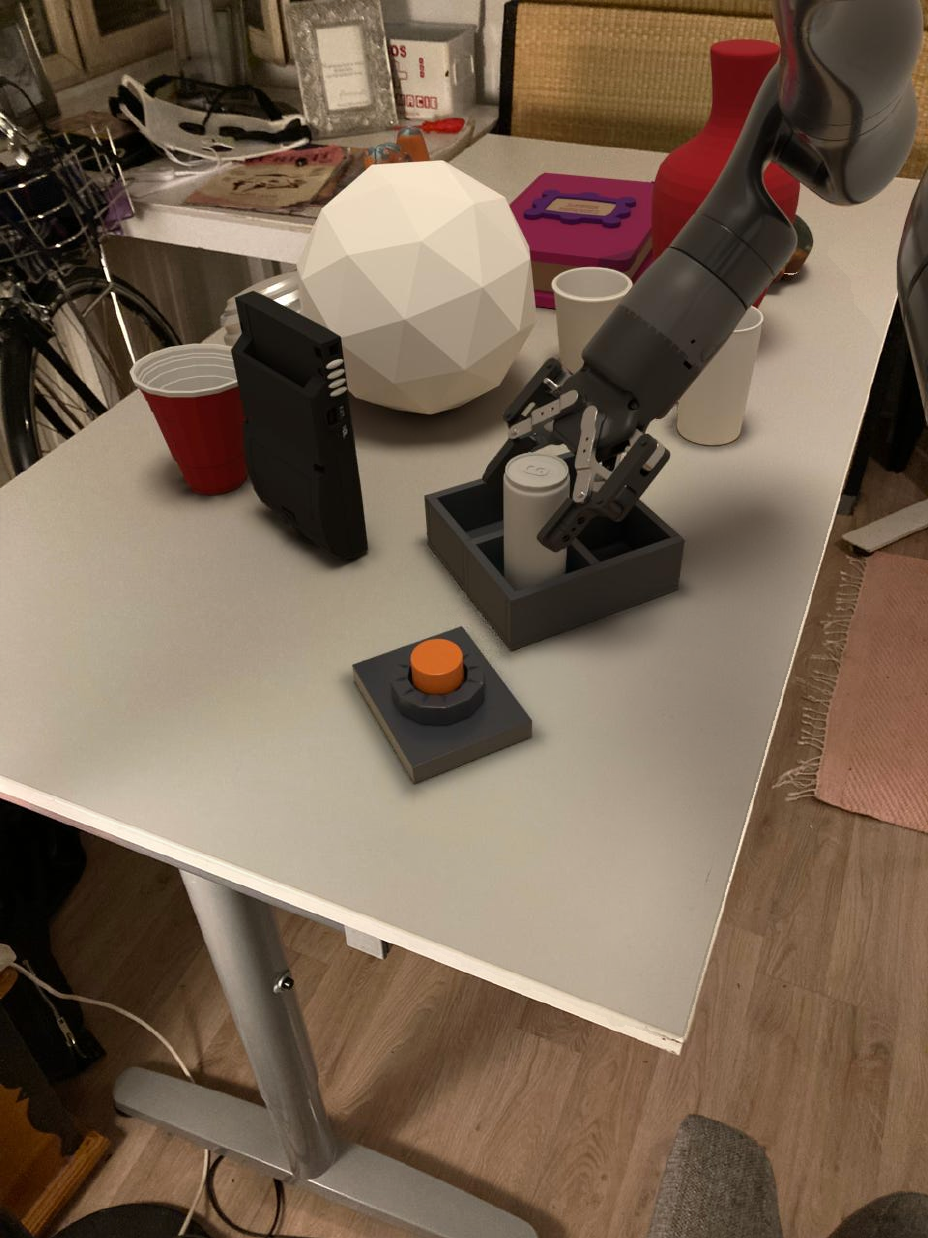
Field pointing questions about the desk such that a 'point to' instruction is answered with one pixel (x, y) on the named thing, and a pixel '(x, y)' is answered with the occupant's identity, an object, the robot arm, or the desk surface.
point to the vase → (718, 144)
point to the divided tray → (595, 563)
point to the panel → (441, 710)
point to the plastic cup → (197, 412)
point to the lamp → (413, 286)
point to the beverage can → (532, 517)
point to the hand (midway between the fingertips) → (517, 515)
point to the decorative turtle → (798, 250)
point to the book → (584, 227)
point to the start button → (437, 667)
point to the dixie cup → (584, 307)
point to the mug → (722, 388)
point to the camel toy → (399, 149)
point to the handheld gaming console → (299, 424)
